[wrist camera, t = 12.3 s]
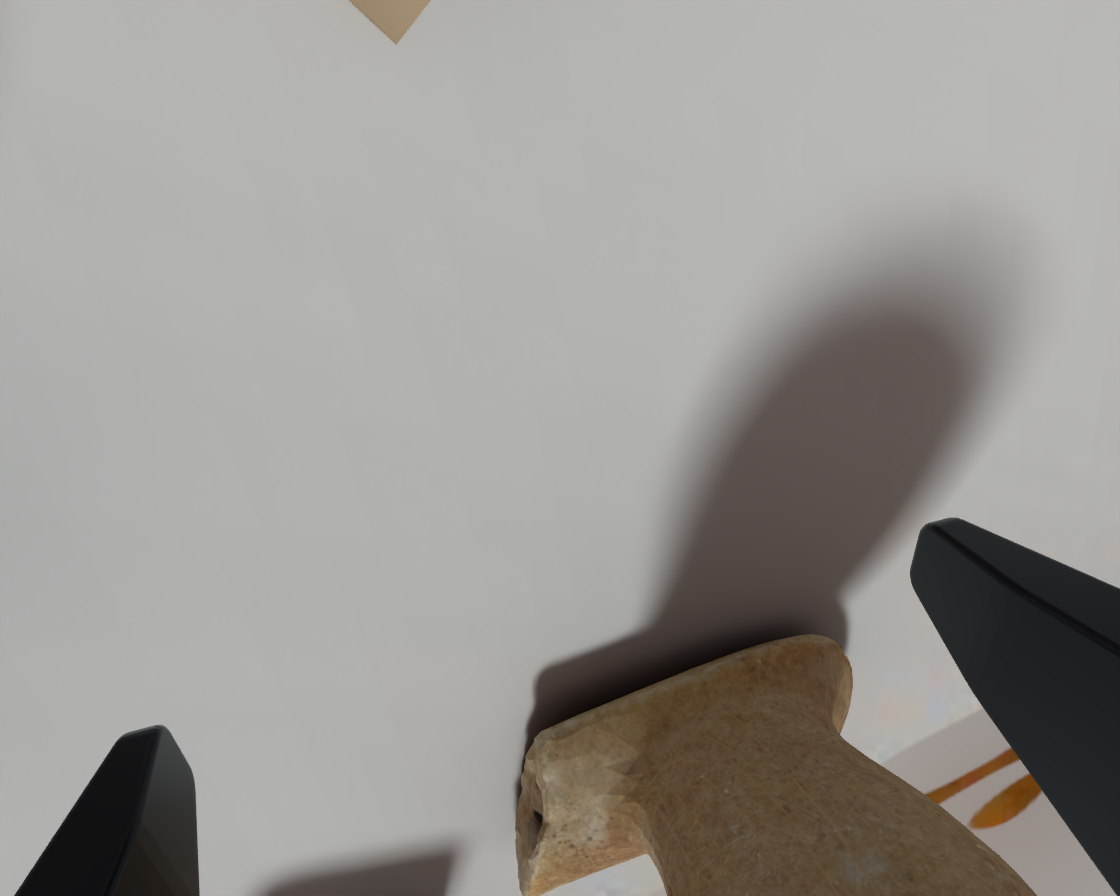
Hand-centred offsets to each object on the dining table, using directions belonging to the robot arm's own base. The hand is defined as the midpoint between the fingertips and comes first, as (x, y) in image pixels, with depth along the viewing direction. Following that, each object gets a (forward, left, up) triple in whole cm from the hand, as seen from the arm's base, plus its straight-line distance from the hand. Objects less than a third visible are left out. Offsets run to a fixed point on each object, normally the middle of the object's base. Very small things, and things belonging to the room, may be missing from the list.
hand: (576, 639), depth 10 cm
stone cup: (+7, -22, -13) cm, 26 cm away
